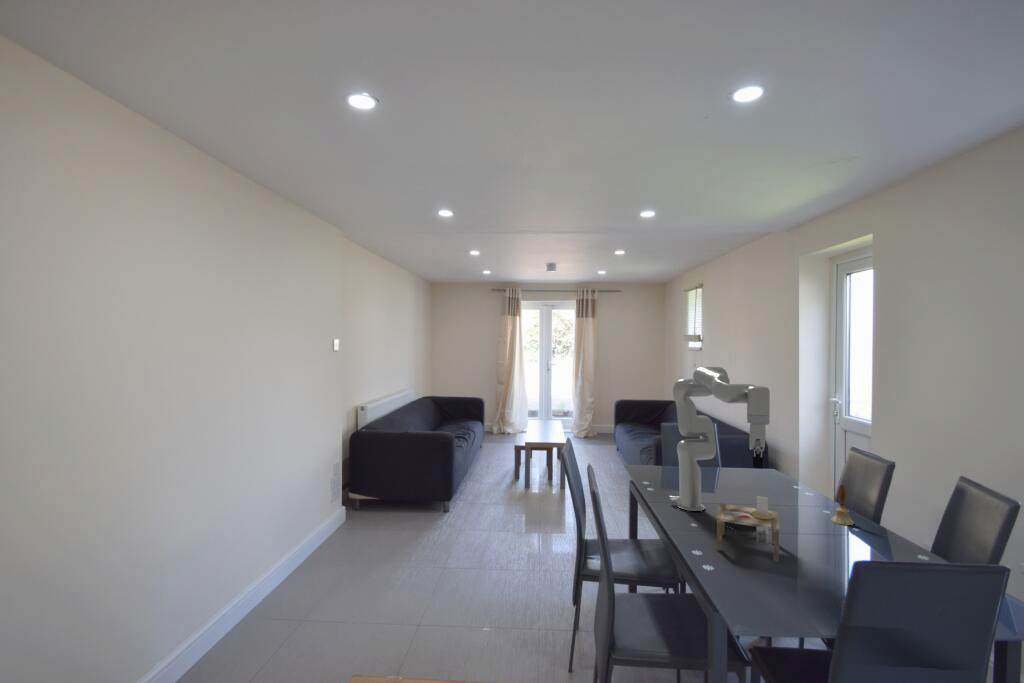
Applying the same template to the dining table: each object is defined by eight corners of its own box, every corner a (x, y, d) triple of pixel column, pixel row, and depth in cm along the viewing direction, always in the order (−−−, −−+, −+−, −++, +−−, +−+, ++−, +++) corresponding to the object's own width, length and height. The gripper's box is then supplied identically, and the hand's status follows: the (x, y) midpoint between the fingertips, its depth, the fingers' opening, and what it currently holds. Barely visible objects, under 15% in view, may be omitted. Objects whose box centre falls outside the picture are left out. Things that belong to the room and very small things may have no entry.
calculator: (716, 513, 198) (745, 508, 202) (717, 524, 198) (745, 518, 202) (736, 523, 187) (765, 517, 192) (736, 533, 187) (766, 527, 192)
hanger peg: (751, 543, 168) (751, 498, 168) (751, 536, 174) (751, 493, 175) (773, 546, 165) (773, 501, 165) (773, 539, 171) (772, 496, 171)
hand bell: (829, 522, 198) (829, 484, 198) (832, 517, 204) (832, 481, 204) (853, 527, 192) (852, 488, 192) (855, 522, 198) (855, 484, 198)
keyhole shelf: (716, 550, 168) (716, 517, 169) (719, 533, 184) (719, 503, 185) (779, 562, 159) (779, 527, 159) (777, 543, 175) (777, 511, 175)
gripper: (747, 415, 183) (747, 458, 183) (746, 421, 168) (746, 468, 168) (768, 416, 179) (768, 461, 179) (770, 423, 164) (769, 471, 164)
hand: (757, 464), depth 173 cm, fingers open, 9 cm apart
